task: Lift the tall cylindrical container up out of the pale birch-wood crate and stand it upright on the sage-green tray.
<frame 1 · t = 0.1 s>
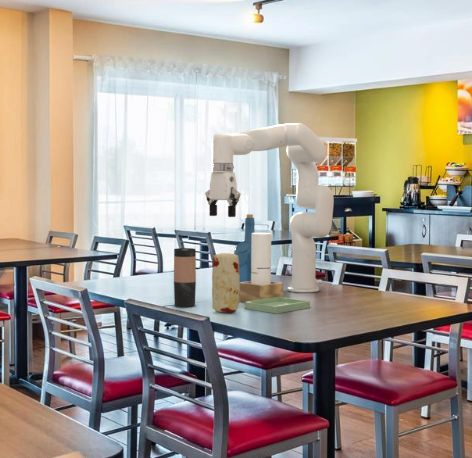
hand: (222, 216, 280), 31 cm above the table, tool pointing down, fingers open, 9 cm apart
food model: (226, 312, 261), on the table
tray: (277, 308, 271), on the table
crate: (260, 301, 285), on the table
wine bottle: (249, 286, 329), on the table
cylindrical container: (260, 302, 285), resting in crate
travel mug: (184, 306, 274), on the table
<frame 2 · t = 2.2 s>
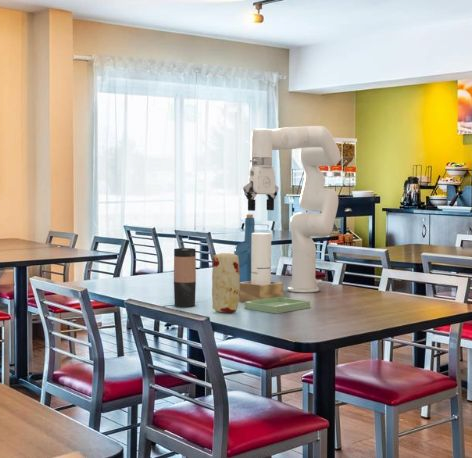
hand: (261, 210, 283), 33 cm above the table, tool pointing down, fingers open, 9 cm apart
nothing on the table moved.
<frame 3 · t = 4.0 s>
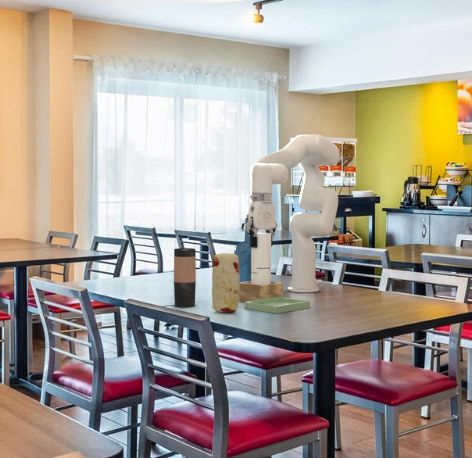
hand: (261, 246, 284), 20 cm above the table, tool pointing down, fingers closed on cylindrical container, 7 cm apart
cylindrical container: (260, 302, 285), resting in crate, touching gripper
everything else where it was.
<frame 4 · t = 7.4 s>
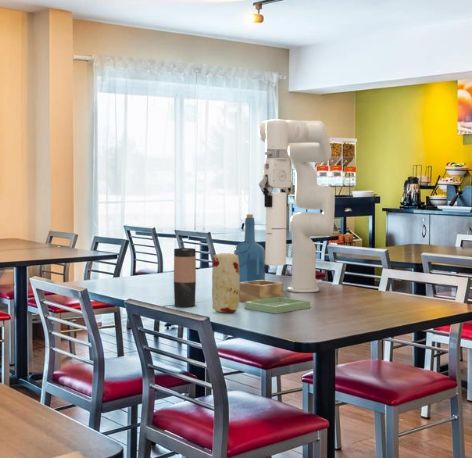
hand: (276, 206, 271), 35 cm above the table, tool pointing down, fingers closed on cylindrical container, 7 cm apart
cylindrical container: (275, 264, 272), point 15 cm above the table, touching gripper
everything else where it was.
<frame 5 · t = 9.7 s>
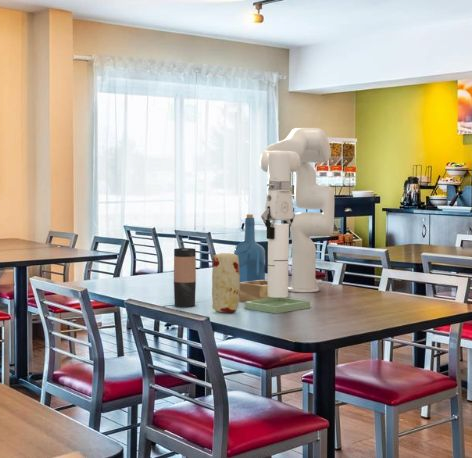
hand: (278, 237, 270), 24 cm above the table, tool pointing down, fingers closed on cylindrical container, 7 cm apart
cylindrical container: (277, 296, 271), point 4 cm above the table, touching gripper
everything else where it was.
when the fingers open (21 cm above the table, at t = 11.1 s): cylindrical container stays where it is, resting on tray.
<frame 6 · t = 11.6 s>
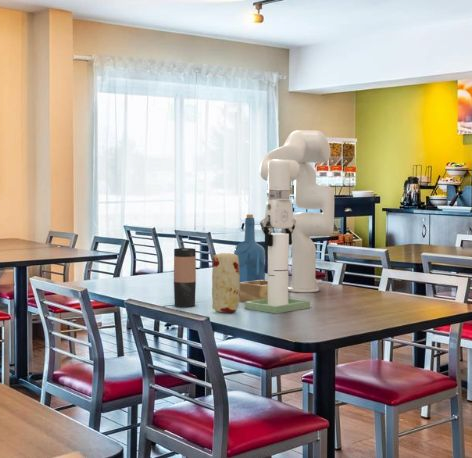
hand: (278, 245, 270), 22 cm above the table, tool pointing down, fingers open, 9 cm apart
cylindrical container: (277, 306, 271), point 1 cm above the table, touching tray
everything else where it was.
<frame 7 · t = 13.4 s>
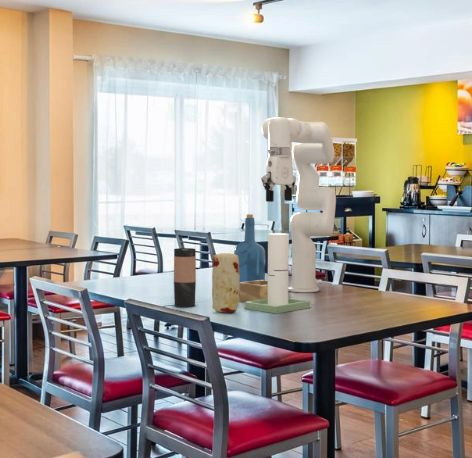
hand: (279, 201, 278), 37 cm above the table, tool pointing down, fingers open, 9 cm apart
nothing on the table moved.
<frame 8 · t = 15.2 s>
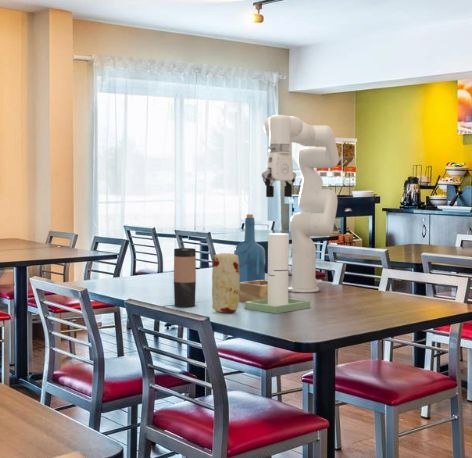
hand: (279, 196, 284), 38 cm above the table, tool pointing down, fingers open, 9 cm apart
nothing on the table moved.
at the end: cylindrical container inside the target area in the tray (0.1 cm from its centre), point 0.6 cm above the tray's base; cylindrical container tilted 0°; the gripper is holding nothing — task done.
